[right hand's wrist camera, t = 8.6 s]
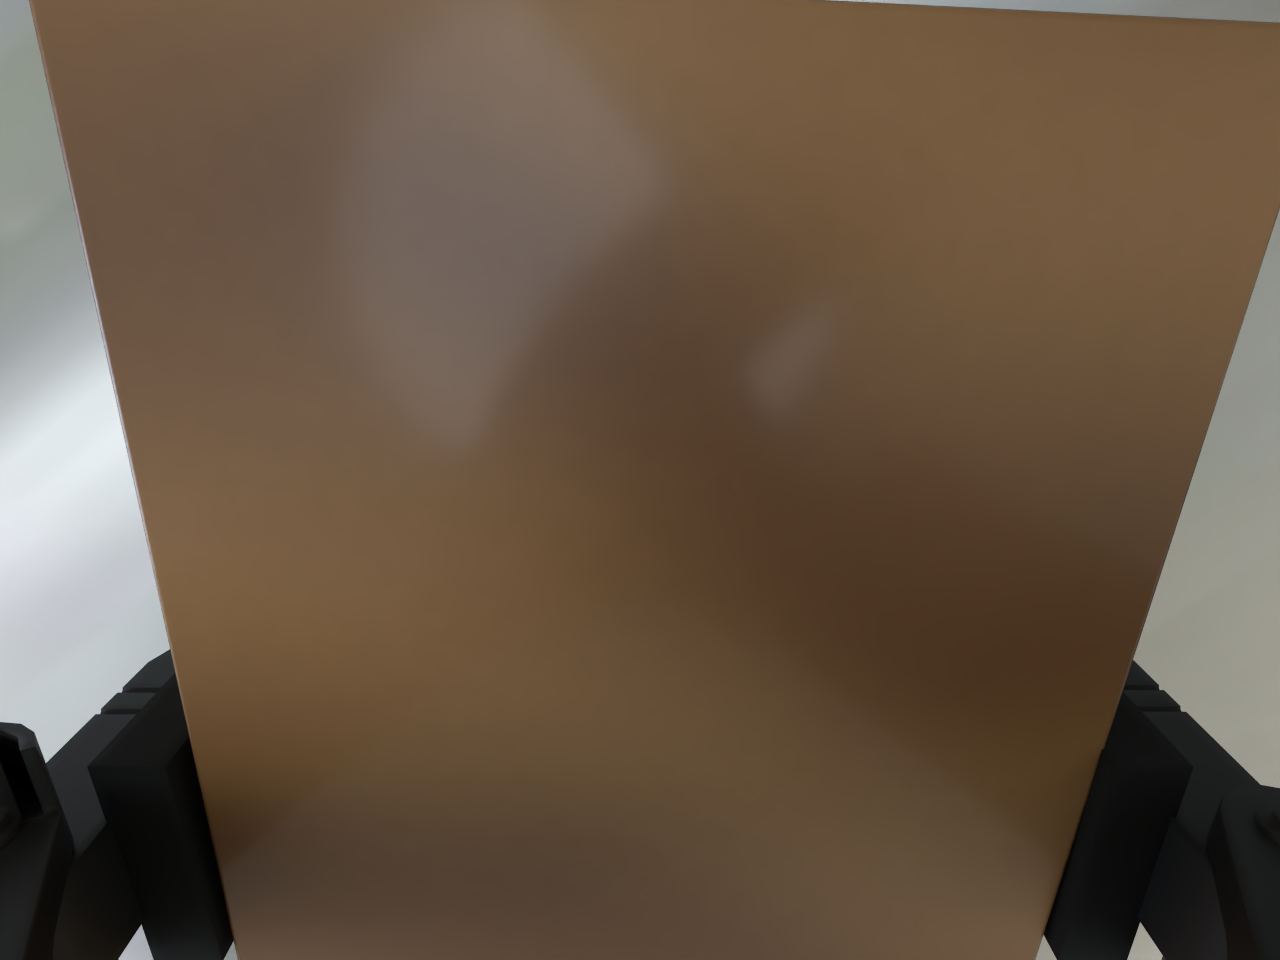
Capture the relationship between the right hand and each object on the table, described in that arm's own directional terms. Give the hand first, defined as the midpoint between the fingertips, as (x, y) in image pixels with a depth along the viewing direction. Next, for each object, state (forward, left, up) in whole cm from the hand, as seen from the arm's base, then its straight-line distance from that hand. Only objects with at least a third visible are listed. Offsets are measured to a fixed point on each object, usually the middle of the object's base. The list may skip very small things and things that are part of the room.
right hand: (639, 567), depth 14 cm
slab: (+28, +20, -1) cm, 34 cm away
